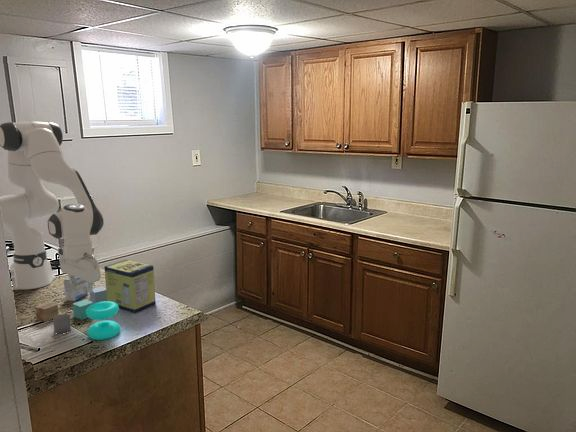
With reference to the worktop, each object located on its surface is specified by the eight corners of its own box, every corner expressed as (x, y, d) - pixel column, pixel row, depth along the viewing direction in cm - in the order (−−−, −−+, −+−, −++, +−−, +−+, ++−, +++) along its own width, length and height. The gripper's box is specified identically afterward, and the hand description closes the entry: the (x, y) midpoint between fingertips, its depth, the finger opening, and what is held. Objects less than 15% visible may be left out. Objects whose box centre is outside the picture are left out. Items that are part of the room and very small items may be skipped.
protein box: (128, 296, 183) (125, 259, 180) (156, 304, 176) (154, 265, 172) (106, 305, 174) (103, 266, 171) (135, 313, 167) (132, 273, 164)
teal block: (73, 316, 164) (72, 303, 163) (86, 312, 168) (85, 299, 167) (81, 320, 161) (80, 306, 160) (94, 315, 165) (93, 302, 164)
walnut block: (36, 320, 161) (34, 306, 160) (49, 314, 165) (47, 301, 164) (45, 322, 159) (44, 309, 158) (58, 317, 163) (57, 304, 162)
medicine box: (75, 301, 178) (73, 280, 176) (65, 300, 179) (63, 279, 177) (88, 294, 185) (86, 273, 184) (78, 293, 186) (76, 273, 184)
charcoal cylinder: (51, 332, 152) (49, 317, 151) (66, 326, 156) (64, 312, 155) (59, 336, 149) (57, 321, 148) (74, 330, 153) (72, 316, 152)
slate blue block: (90, 301, 178) (89, 289, 177) (103, 298, 181) (102, 286, 180) (95, 305, 174) (94, 292, 173) (108, 301, 178) (107, 289, 177)
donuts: (87, 301, 152) (119, 298, 155) (89, 329, 154) (121, 326, 156) (83, 313, 142) (117, 310, 145) (85, 343, 144) (119, 339, 147)
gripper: (103, 254, 156) (106, 292, 159) (71, 244, 168) (75, 280, 171) (86, 258, 151) (89, 298, 154) (54, 248, 163) (58, 285, 166)
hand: (81, 288), depth 162 cm, fingers open, 8 cm apart
